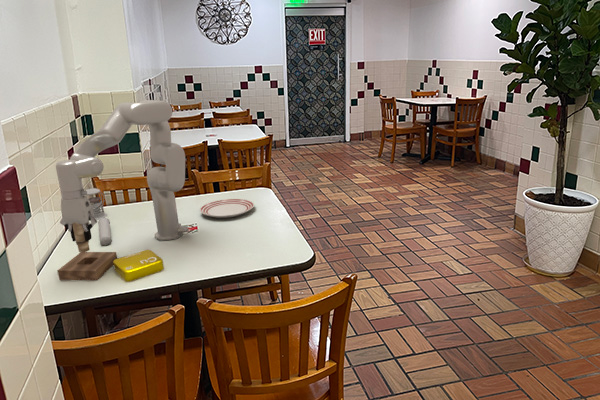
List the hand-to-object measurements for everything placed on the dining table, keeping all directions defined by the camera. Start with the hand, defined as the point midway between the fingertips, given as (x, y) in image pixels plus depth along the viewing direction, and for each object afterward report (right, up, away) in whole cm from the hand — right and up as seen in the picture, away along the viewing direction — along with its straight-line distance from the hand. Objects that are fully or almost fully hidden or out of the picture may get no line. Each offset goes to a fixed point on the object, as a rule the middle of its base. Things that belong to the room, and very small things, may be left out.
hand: (82, 239), depth 177 cm
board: (+1, -12, +4) cm, 13 cm away
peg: (0, -4, +1) cm, 4 cm away
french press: (-21, +6, +63) cm, 67 cm away
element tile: (+21, -12, +3) cm, 24 cm away
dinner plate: (+46, +9, +60) cm, 76 cm away
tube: (-7, -2, +37) cm, 38 cm away
